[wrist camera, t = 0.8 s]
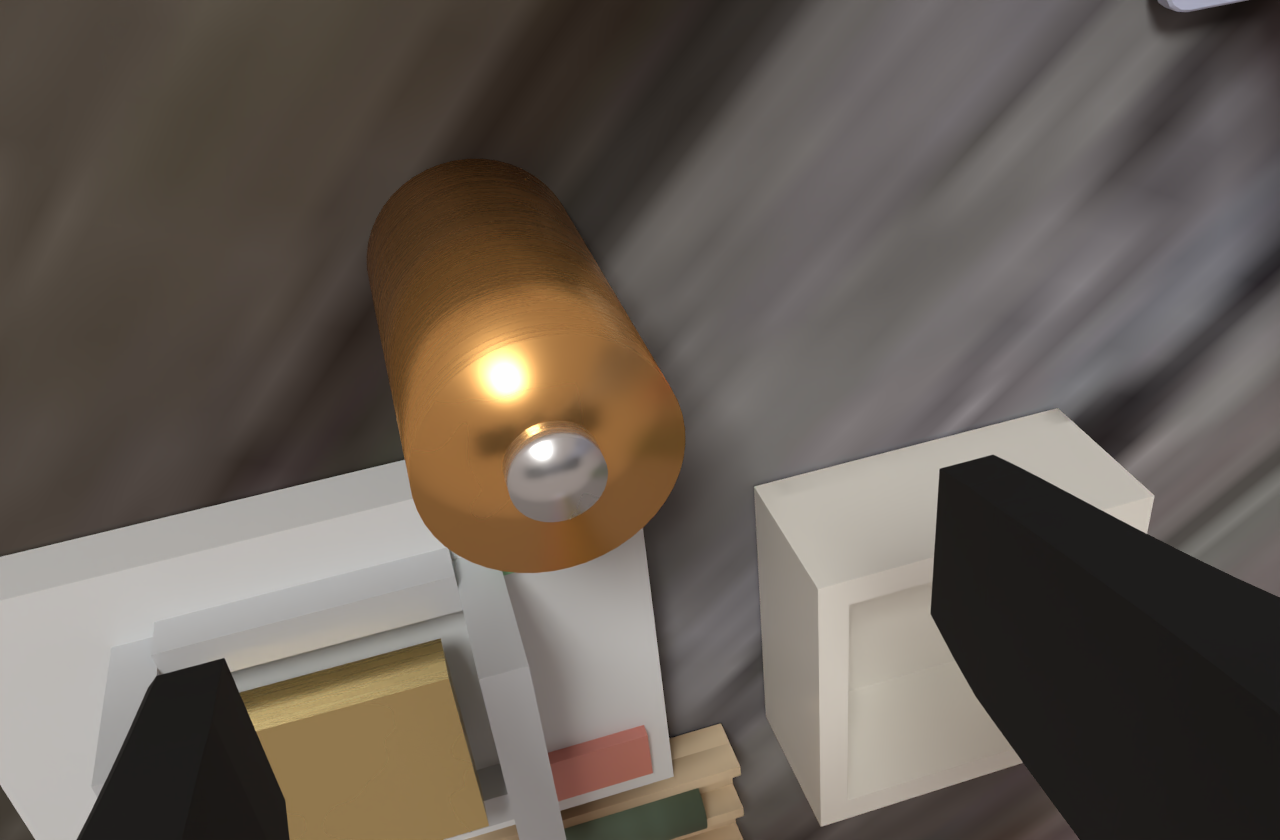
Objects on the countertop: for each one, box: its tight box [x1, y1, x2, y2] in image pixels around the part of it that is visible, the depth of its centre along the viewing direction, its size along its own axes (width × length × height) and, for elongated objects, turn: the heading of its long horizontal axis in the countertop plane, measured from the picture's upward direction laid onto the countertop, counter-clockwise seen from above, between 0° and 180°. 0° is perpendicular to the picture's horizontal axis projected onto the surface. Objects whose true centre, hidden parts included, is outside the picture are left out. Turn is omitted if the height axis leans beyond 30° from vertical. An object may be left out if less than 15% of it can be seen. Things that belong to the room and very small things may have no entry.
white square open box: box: [754, 408, 1154, 827], centre depth 24 cm, size 7×7×3 cm
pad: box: [240, 638, 489, 840], centre depth 20 cm, size 4×4×1 cm
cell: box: [367, 159, 685, 573], centre depth 16 cm, size 3×3×6 cm
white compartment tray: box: [0, 460, 674, 840], centre depth 21 cm, size 12×9×4 cm
